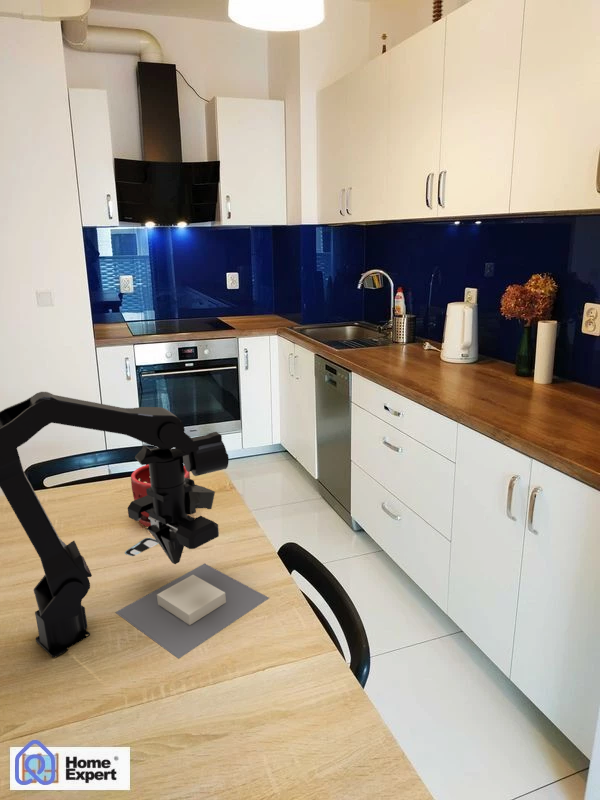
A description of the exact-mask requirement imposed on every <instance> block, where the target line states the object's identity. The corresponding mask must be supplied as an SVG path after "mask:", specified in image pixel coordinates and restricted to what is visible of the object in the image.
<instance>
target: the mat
mask: <svg viewBox="0 0 600 800" xmlns="http://www.w3.org/2000/svg"><path fill="white" fill-rule="evenodd" d="M191 575H195V576H196V577H198V578H200V579H202V580H204V581H205V582H207V583H209V584H211V585H212V586H214V587H216V588H218V589H220V590H221V591H223V592H225V596H226V603H224V604H223V605H221V606H220V607H218V608H216V609H215V610H213V611H212V612H210V613H209V614H207V615H205V616H204V617H202V618H201V619H199V620H197V621H196V622H194V623H193V624H191V625H189V624H187V623H186V622H184V621H183V620H181V619H180V618H178V617H177V616H175V615H173V614H172V613H170V612H169V611H167V610H166V609H164V608H163V607H161V606H160V605H158V600H157V594H159V593H161V592H162V591H164V590H166V589H168V588H170V587H171V586H173V585H175V584H177V583H179V582H180V581H182V580H184V579H186V578H188V577H189V576H191ZM269 599H270V597H269V596H267V595H265V594H263V593H261V592H259V591H257V590H255V589H253V588H252V587H251V586H248V585H246V584H244V583H243V582H240V581H239V580H237V579H236V578H235V579H234V578H233V577H231V576H229V575H228V574H225V573H223V572H221V571H219V569H216V568H214V567H212V566H210V565H208V564H206V563H203V564H201V565H199V566H197V567H195V568H194V569H192V570H190V571H188V572H186V573H184V574H183V575H181V576H179V577H178V578H175V579H173V580H172V581H170V582H168V583H166V584H164V585H162V586H161V587H159V588H157V589H154V591H151V592H150V593H148V594H146V595H145V596H142V597H141V598H138V599H137V600H135V601H133V602H131V603H130V604H128V605H125V606H124V607H122V608H121V609H118V610H117V611H115V612H114V613H115V614H117V615H118V616H119V617H121V618H123V620H125V621H126V622H128V623H129V624H130V625H132V626H133V627H134V628H136V629H137V630H139V631H140V632H141V633H142V634H144V635H145V636H147V637H148V638H150V639H151V640H152V641H154V642H155V643H156V644H158V645H159V646H160V647H162V648H163V649H164V650H166V651H167V652H169V654H171V655H172V656H174V657H175V658H177V659H178V660H179V659H181V658H182V657H184V656H185V655H186V654H188V653H190V652H191V651H193V650H194V649H196V648H197V647H199V646H200V645H201V644H203V643H205V642H206V641H208V640H209V639H210V638H212V637H214V636H215V635H216V634H218V633H219V632H221V631H222V630H224V629H226V628H227V627H228V626H230V625H232V624H233V623H234V622H236V621H238V620H239V619H241V618H243V616H246V614H248V613H249V612H251V611H253V609H255V608H257V607H259V606H260V605H261V604H263V603H264V602H265V601H267V600H269Z"/></svg>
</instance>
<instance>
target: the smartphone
mask: <svg viewBox="0 0 600 800" xmlns="http://www.w3.org/2000/svg"><path fill="white" fill-rule="evenodd" d="M157 545H159V543H158V542H157V540H156V539H155V538H152V537H145V538H143V539H141V540H140V541H139V542H137V543H136V544H134V545H133V546H131V547H130V548H128V549H127V550H125V551H124V554H125V555H126V556H127V555H128V556H129V557H135V556H137V555H139V554H141V553H143V552H145V551H146V550H149V549H151V548H153V547H155V546H157Z"/></svg>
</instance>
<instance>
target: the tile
mask: <svg viewBox="0 0 600 800" xmlns="http://www.w3.org/2000/svg"><path fill="white" fill-rule="evenodd" d="M157 600H158V605H160V606H161V607H163V608H164V609H166V610H167V611H169V612H170V613H172V614H173V615H175V616H177V617H178V618H180V619H181V620H183V621H184V622H186V623H187V624H189V625H191V624H193V623H194V622H196V621H197V620H199V619H201V618H202V617H204V616H205V615H207V614H209V613H210V612H212V611H213V610H215V609H216V608H218V607H220V606H221V605H223V604H224V603H226V596H225V592H223V591H221V590H220V589H218V588H216V587H214V586H212V585H211V584H209V583H207V582H205V581H204V580H202V579H200V578H198V577H196V576H195V575H191V576H189V577H188V578H186V579H184V580H182V581H180V582H179V583H177V584H175V585H173V586H171V587H170V588H168V589H166V590H164V591H162V592H161V593H159V594H157Z"/></svg>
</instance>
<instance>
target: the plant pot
mask: <svg viewBox="0 0 600 800" xmlns="http://www.w3.org/2000/svg"><path fill="white" fill-rule="evenodd" d="M190 472H191V471H190ZM190 472H188V471H187V470H186V469H185V466H184V475H185V478H189V479H191V473H190ZM130 482H131V491H132V496H133V501H134V500H137V499H139V498H142V497H144V496H147V492H146V489H147V488H150V487H151V481H150V471H149V464H145V465H141V466H140V467H138V468H136V469H135V470H134V471H133V472H132V473H131V475H130ZM141 517H142V518H141V519H140V520H139V523H140V524H141V525H142V526H145V527H149V526H151V521H150V519H148V517H149V513H147V512H145V511H144V512H142V513H141Z"/></svg>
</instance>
